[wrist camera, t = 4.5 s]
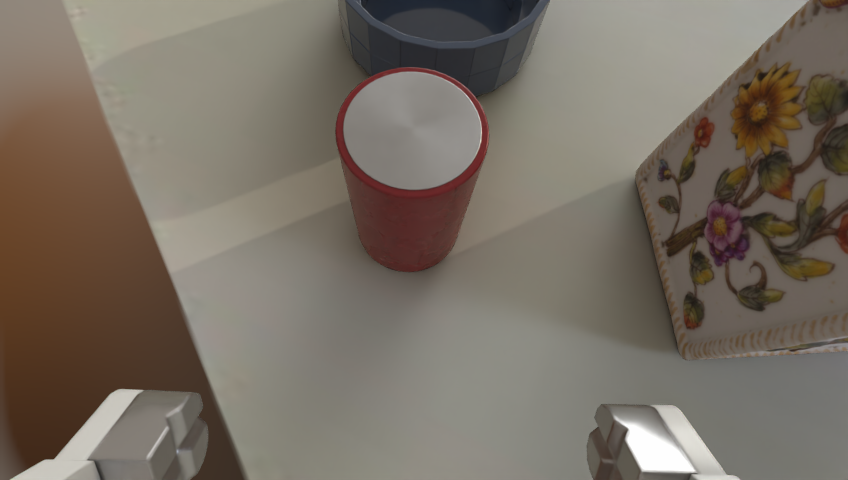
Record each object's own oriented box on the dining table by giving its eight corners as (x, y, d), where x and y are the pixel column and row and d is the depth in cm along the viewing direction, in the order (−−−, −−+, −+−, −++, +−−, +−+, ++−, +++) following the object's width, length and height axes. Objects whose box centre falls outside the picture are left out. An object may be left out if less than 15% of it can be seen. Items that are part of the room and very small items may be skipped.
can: (453, 177, 27) (480, 63, 18) (463, 269, 25) (499, 193, 16) (356, 181, 26) (334, 66, 17) (358, 275, 24) (335, 201, 15)
